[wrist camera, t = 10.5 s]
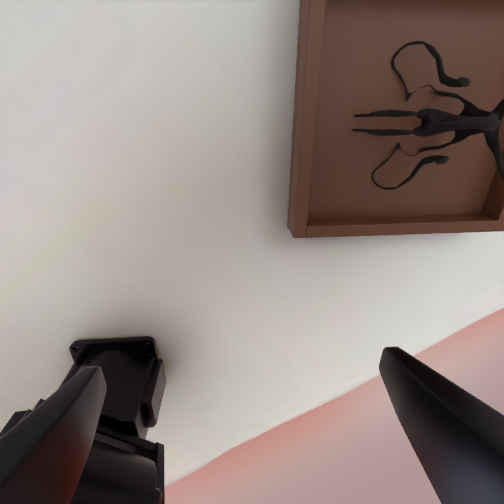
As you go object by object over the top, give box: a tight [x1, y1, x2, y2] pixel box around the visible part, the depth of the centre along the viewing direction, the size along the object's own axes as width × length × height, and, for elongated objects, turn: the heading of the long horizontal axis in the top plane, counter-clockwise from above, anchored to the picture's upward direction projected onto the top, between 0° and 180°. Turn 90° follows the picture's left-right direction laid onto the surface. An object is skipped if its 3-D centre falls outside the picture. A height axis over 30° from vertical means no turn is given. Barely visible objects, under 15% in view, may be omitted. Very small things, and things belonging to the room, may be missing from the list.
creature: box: [352, 41, 504, 190], centre depth 15 cm, size 8×5×8 cm
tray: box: [287, 0, 504, 238], centre depth 17 cm, size 15×14×2 cm
